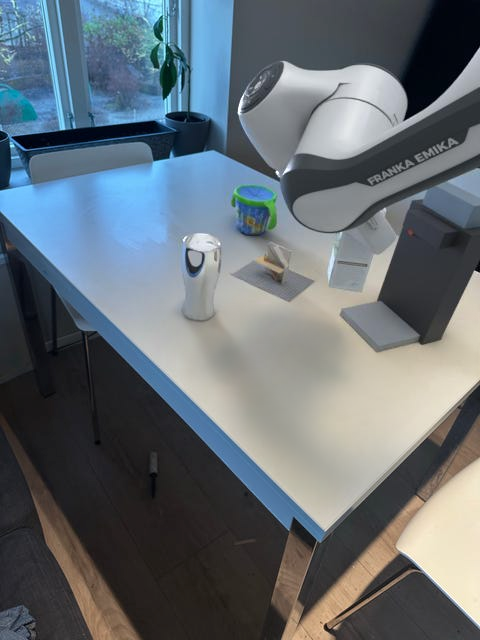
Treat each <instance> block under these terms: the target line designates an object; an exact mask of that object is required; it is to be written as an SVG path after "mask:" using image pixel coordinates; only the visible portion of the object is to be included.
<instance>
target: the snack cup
mask: <svg viewBox="0 0 480 640" xmlns="http://www.w3.org/2000/svg"><path fill="white" fill-rule="evenodd" d="M277 198H278V195H277V193H276V192H275V190H273V189H271V188H270V187H266V186H264V185H258V184H243V185H239V186H237V187H236V188H234V191H233V193H232V197H231V200H230V205H231V207H232V208H235V222H236V229H237V230H238V231H239V232H241V233H244V234H245V235H251V236H259V235H262V234H263V233H264V232H265V231H266V229H267V230H268V231H271V230H273V229H275V228H276V226H277V224H278V219H277V217H278V215H277V207H276V204H275V203H276V202H277Z"/></svg>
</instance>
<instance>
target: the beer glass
mask: <svg viewBox="0 0 480 640" xmlns="http://www.w3.org/2000/svg"><path fill="white" fill-rule="evenodd" d="M222 243H223V242H222V240H221V239H220V238H219V237H217V236H215V235H214V234H209V233H205V232H204V233H203V232H196V233H191V234H188V235H186V236H185V237H184V239H183V245H182V254H181V272H182V273H181V274H182V281H183V286H184V292H185V294H184V295H185V297H184V302H183V305H182V306H183V307H182V314H183V316H185V317H186V318H187V319H189V320H192V321H196V322H197V321H198V322H203V321H207V320H209V319H212V318H213V317H214V315H215V312H216V311H215V303H214V299H215V298H214V296H215V291H216V288H217V286H218V285H217V284H218V282H219V278H220V274H221V269H222Z"/></svg>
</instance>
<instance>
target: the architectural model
mask: <svg viewBox="0 0 480 640" xmlns="http://www.w3.org/2000/svg"><path fill="white" fill-rule="evenodd" d="M291 256H292V250H291V249H288V248H286V247H285V246H282V245H279V244H277V243H275V242H272V241H269V242H268V245H267V253H265V254H264V255H260V256H258V257H256V258H255V259H254V260H252V261H250V262H249V263H247V264H245V265H244V266H243V267H240V268H239V269H237V270H236V271H234V272H233V273H231V274H230V275H231V276H233V277H236V278H237V279H240V280H242V281H244V282H245V283H248V284H250V285H252V286H255V287H257V288H259V289H260V290H263V291H264V292H267V293H269V294H271V295H273V296H276V297H278V298H280V299H282V300H284V301H285V302H288V303H290V302H291V301H293V300H294V299H296V297H298V296H299V295H300V294H301V293H303V292H304V291H305V290H306V289H307V288H309V287H310V286H311V285H312V284H314V283H315V282H316V280H314V279H312V278H309V277H307V276H305V275H303V274H300V273H298V272H295V271H294V270H291V269H289V268H290V261H291Z"/></svg>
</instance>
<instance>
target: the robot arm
mask: <svg viewBox="0 0 480 640" xmlns="http://www.w3.org/2000/svg"><path fill="white" fill-rule="evenodd" d="M470 59H471V60H470V61H469V62H468V64H467V65H466V66H465V68H464V69H463V71H462V72H461V73H460V74H459V75H458V77H457V78H456V79H455V80H454V81H453V83H452V84H451V85H450V86H449V87H448V88H447V89H446V90H445V91H444V92H443V93H442V94H441V95H440V96H439V97H438V98H437V99H436V100H435V101H433V102H432V103H431V104H429V106H427V107H425V108H424V109H422V110H421V111H419V112H418V113H416V114H414V115H413V116H411V117H409V118H407V119H406V120H405V116H406V113H407V111H408V107H409V98H408V95H407V92H406V89H405V87H404V85H403V84H402V82H401V80H399V78H397V76H396V75H394V74H393V72H391V71H390V70H388V68H387V69H386V68H385V67H384V66H381V65H378V64H376V63H370V62H358V63H352V64H350V65H346V66H344V67H341V68H339V69H331V70H330V69H329V70H313V69H311V70H310V69H305V68H301V67H299V66H297V65H295V64H293V63H290V62H289V61H286V60H277V61H275V62H273V63H270V64H268V65H267V66H265V67H263V69H262V70H260V71H259V72H258V73H257V74H256V75H255V77H254V78H253V79H252V80H251V81H250V82H249V83H248V85H247V87H246V88H245V91H244V92H243V95H242V97H241V98H240V101H239V104H238V108H237V109H238V110H237V114H238V118H239V122H240V124H241V127H242V128H243V129H242V130H243V131H244V132H245V134H246V136H247V139H249V141H250V142H251V144H252V145H253V147H254V148H255V150H256V151H257V152H258V154H259V155H260V156H261V158H262V159H263V160H264V162H265V164H267V165H268V167H270V168H272V169H273V170H275V175H276V176H277V177H278V179H279V187H280V192H281V195H282V197H283V198H282V199H283V200H284V202H285V205H286V207H287V209H288V211H289V212H290V214H291V216H292V217H293V218H294V220H295V221H296V222H297V223H299V224H300V225H301V226H303V227H304V228H306V229H308V230H310V231H314V232H317V233H321V234H336V233H338V232H343V231H346V232H347V233H349V234H350V235H351V236H352V237H354V238H355V239H356V240H358V241H359V242H360V243H361V244H363V245H364V246H365V247H367V248H368V249H369V250H370V251H371V252H372V253H374V255H377V256H378V255H381V254H383V252H385V251H386V250H387V249H388V248H390V246H391V245H392V244H393V243H394V242H395V241H396V239H397V234H396V232H395V230H394V229H393V227H392V226H391V224H390V223H389V221H388V219H387V218H386V216H385V217H384V215H383V214H382V213H381V210H382V209H384V208H386V209H387V208H388V207H390V206H392V205H394V204H396V203H398V202H401V201H403V200H405V199H409V198H411V197H413V196H416V195H417V194H420V193H422V192H425V191H427V189H429V188H432V187H434V186H437V185H439V184H441V183H444V182H446V181H447V182H448V181H450V180H453V179H456V178H458V177H460V176H462V175H465V174H468V173H470V172H471V171H474V170H476V169H478V168H480V46H479V48H478V49H477V50H476V52H475V53H474V55H473V57H472V58H470Z"/></svg>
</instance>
